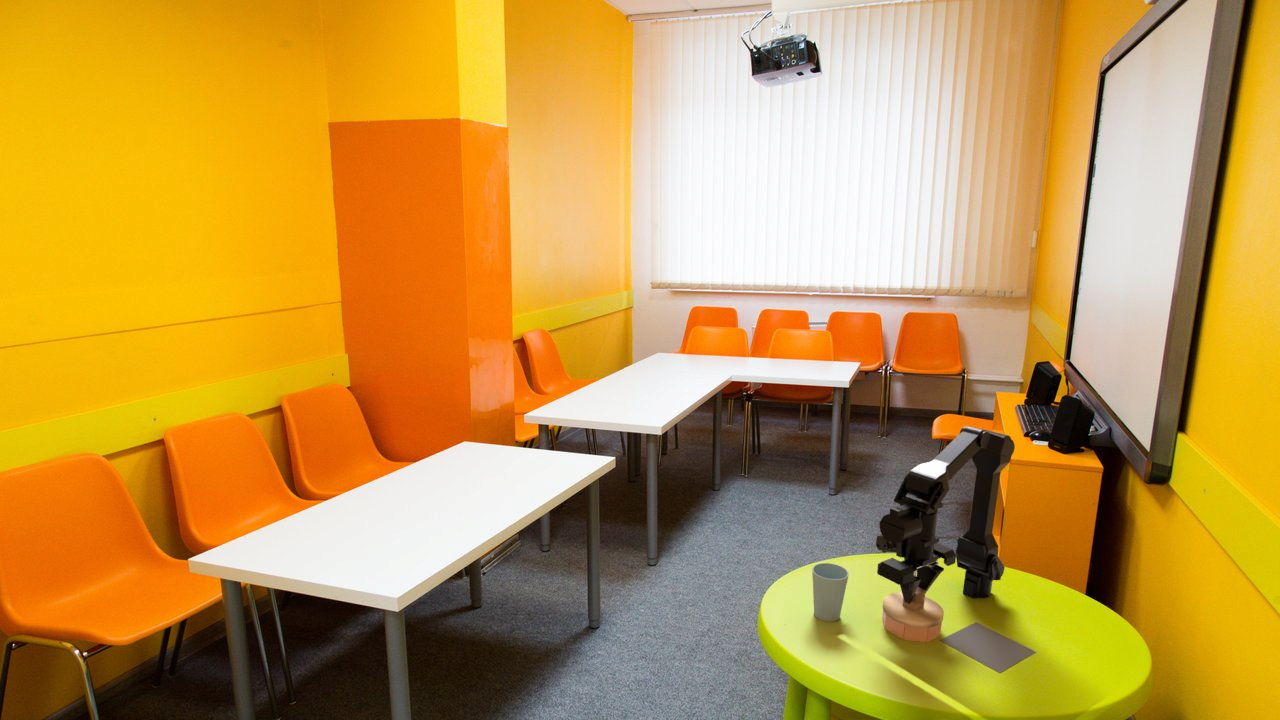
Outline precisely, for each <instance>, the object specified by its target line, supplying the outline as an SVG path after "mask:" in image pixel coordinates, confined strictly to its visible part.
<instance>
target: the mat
mask: <svg viewBox="0 0 1280 720" xmlns="http://www.w3.org/2000/svg"><path fill="white" fill-rule="evenodd" d="M939 641H940V642H941V643H943V644H945V645H947V646H948V647H950V648H952V649H954V650H956V651H957V652H960V653H962V654H964V655H965V656H968V657H969V658H971V659H973V660H975V661H977V662H978V663H980V664H982V665H983V666H985V667H987V668H989V669H991V670H993V671H995V672H996V673H999V674H1001V673H1003V672H1005V671H1006V670H1008V669H1010V668H1012V667H1014V666H1015V665H1017V664H1018V663H1020V662H1022V661H1023V660H1025V659H1027V658H1028V657H1031V656H1032V655H1034V654H1035V653H1037V651H1036V650H1033V649H1031V647H1030V648H1029V647H1028V646H1025V645H1023V644H1022V643H1019V642H1018V641H1015V640H1013V639H1011V638H1009V637H1008V636H1005V635H1004V634H1001V633H999V632H998V631H995V630H993V629H991V628H990V627H987V626H986V625H984V624H981V623H979V622H977V621H975V622H973V623H971V624H969V625H967V626H965V627H963V628H961V629H959V630H958V631H957V630H956V631H954V632H953V633H951V634H948V635H947V636H945V637H943V638H941V639H939Z"/></svg>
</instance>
